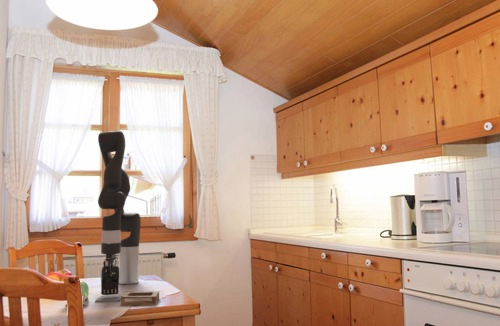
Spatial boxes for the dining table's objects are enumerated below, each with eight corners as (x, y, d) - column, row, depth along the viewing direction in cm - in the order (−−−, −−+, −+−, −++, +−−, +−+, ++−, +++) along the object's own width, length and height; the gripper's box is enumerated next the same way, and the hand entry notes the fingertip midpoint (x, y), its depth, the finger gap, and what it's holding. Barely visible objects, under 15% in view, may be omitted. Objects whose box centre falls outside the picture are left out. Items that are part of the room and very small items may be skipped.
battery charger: (100, 296, 178) (101, 266, 179) (100, 294, 181) (101, 265, 182) (119, 294, 180) (120, 265, 181) (118, 293, 184) (119, 264, 185)
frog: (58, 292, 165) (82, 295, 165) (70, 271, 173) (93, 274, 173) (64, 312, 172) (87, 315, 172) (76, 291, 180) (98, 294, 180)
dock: (126, 299, 180) (126, 291, 180) (159, 299, 181) (159, 291, 181) (120, 305, 170) (120, 297, 170) (155, 304, 171) (155, 296, 171)
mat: (101, 297, 185) (101, 295, 185) (123, 296, 185) (123, 295, 185) (95, 302, 176) (95, 300, 176) (118, 301, 176) (118, 300, 176)
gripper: (106, 240, 189) (105, 281, 188) (96, 243, 175) (95, 288, 174) (124, 239, 190) (123, 281, 189) (116, 243, 176) (115, 288, 174)
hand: (110, 284), depth 181 cm, fingers closed on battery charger, 4 cm apart
